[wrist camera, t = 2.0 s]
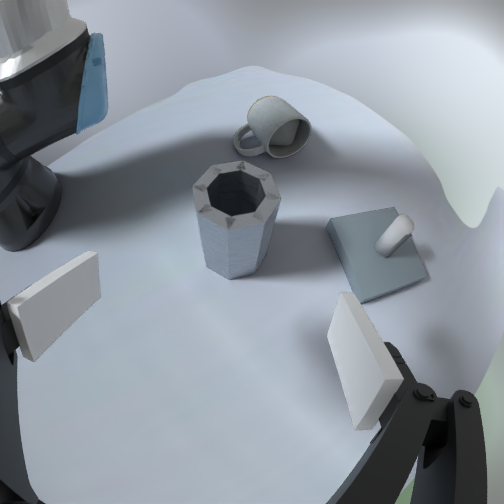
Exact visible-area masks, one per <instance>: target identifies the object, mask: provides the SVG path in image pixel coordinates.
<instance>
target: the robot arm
mask: <svg viewBox="0 0 504 504" xmlns="http://www.w3.org/2000/svg"><path fill="white" fill-rule="evenodd" d="M107 112H108V91H107V77H106V65H105V51H104V42H103V35H102V34H101V33H93V34H91V35H89V34H88V29H87V25H86V23H85V22H84V21H81V20H78V19H75V18H72V17H71V16H70V14H69V10H68V5H67V0H0V246H1V247H3V248H4V249H5V250H8V251H17V250H20V249H23V248H25V247H27V246H28V245H30V244H31V243H32V242H34V241H35V240H36V239H37V238H38V237H39V236H40V235H41V234H42V233H43V232H44V231H45V229H46V228H47V227H48V225H49V224H50V222H51V221H52V219H53V217H54V215H55V213H56V211H57V209H58V206H59V203H60V199H61V185H60V182H59V180H58V179H57V177H56V176H55V174H54V173H53V171H52V170H51V169H49V168H47V167H46V166H43V165H42V164H41V163H40V162H38V161H37V160H36V159H34V158H33V157H32V156H31V155H32V154H34V153H35V152H37V151H39V150H41V149H43V148H45V147H47V146H49V145H51V144H53V143H55V142H57V141H59V140H61V139H64V138H66V137H68V136H70V135H72V134H74V133H76V134H79V133H80V132H81V131H82V130H84V129H86V128H89V127H91V126H93V125H95V124H97V123H99V122H100V121H102V120H103V119H104V118H105V116H106V115H107ZM100 298H101V292H100V280H99V265H98V253H95V252H90V251H86V252H85V253H83V254H81V255H80V256H78V257H76V258H74V259H73V260H71V261H69V262H68V263H66V264H64V265H63V266H61V267H60V268H58V269H56V270H55V271H53V272H51V273H50V274H48V275H47V276H45V277H44V278H42V279H40V280H39V281H37V282H36V283H34V284H33V285H30V286H29V287H27V288H26V289H24V291H21V292H20V293H19V294H17V295H16V296H14V297H13V298H11V299H10V300H8V301H7V302H5V303H4V304H3V305H1V302H0V504H45V503H43V502H42V501H40V500H39V499H38V497H37V495H36V494H35V492H34V491H33V489H32V487H31V485H30V483H29V479H28V475H27V470H26V465H25V460H24V455H23V449H22V442H21V435H20V426H19V415H18V399H17V353H16V349H17V348H18V347H19V346H20V349H21V352H22V354H23V357H25V358H27V359H28V360H30V361H32V362H35V361H36V360H37V359H38V358H39V357H40V356H41V355H42V354H43V353H44V352H45V351H46V350H47V349H48V348H49V347H50V346H51V345H52V344H53V343H54V342H55V341H56V340H57V339H58V338H59V337H60V336H61V335H62V334H63V333H64V332H65V331H66V330H67V329H68V328H69V327H70V326H71V325H72V324H73V323H74V322H75V321H76V320H77V319H78V318H79V317H80V316H81V315H82V314H83V313H85V312H86V311H87V310H88V309H89V308H90V307H91V306H92V305H93V304H94V303H95V302H96V301H97V300H98V299H100ZM327 338H328V341H329V344H330V348H331V351H332V354H333V357H334V360H335V364H336V367H337V370H338V374H339V377H340V380H341V384H342V387H343V391H344V394H345V398H346V401H347V405H348V408H349V412H350V415H351V419H352V423H353V426H354V430H369V429H373V427H374V426H375V424H376V423H377V421H378V420H379V422H380V424H381V429H380V430H379V431H378V433H377V434H376V435H375V437H374V438H373V439H372V441H371V442H370V443H371V444H370V446H369V447H368V449H367V450H366V452H365V453H364V455H363V456H362V458H361V459H360V460H359V462H358V463H357V465H356V466H355V468H354V469H353V470H352V472H351V473H350V474H349V476H348V477H347V478H346V480H345V481H344V482H343V484H342V485H341V486H340V487H339V489H338V490H337V491H336V492H335V494H334V495H333V496H332V497H331V498H330V500H329V501H328V502H327V503H326V504H394V503H395V502H396V500H397V498H398V496H399V494H400V492H401V490H402V488H403V486H404V484H405V482H406V480H407V478H408V476H409V474H410V472H411V470H412V468H413V465H414V463H415V461H416V459H417V456H418V462H417V469H416V475H415V481H414V487H413V492H412V497H411V502H410V504H487V466H486V452H485V442H484V433H483V427H482V420H481V414H480V408H479V403H478V401H477V399H476V397H475V396H474V395H473V394H471V393H470V392H468V391H465V390H458V391H456V392H455V393H454V394H453V396H452V397H451V399H445V398H439V397H437V396H436V393H435V392H434V391H433V389H432V388H430V387H429V386H427V385H425V384H422V383H417V381H416V380H415V378H414V376H413V374H412V373H411V371H410V369H409V368H408V366H407V364H405V363H406V362H405V361H404V359H403V358H402V356H401V354H400V353H399V351H398V349H397V348H396V347H394V346H393V345H392V344H391V343H390V342H383V341H382V339H381V337H380V335H379V334H378V332H377V330H376V329H375V327H374V325H373V324H372V322H371V320H370V319H369V317H368V315H367V314H366V312H365V310H364V309H363V307H362V305H361V304H360V302H359V301H358V299H357V297H356V296H355V294H354V293H348V292H340V295H339V298H338V302H337V305H336V308H335V312H334V315H333V318H332V321H331V324H330V328H329V331H328V334H327Z"/></svg>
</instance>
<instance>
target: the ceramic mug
mask: <svg viewBox="0 0 504 504" xmlns="http://www.w3.org/2000/svg"><path fill="white" fill-rule="evenodd" d="M247 120H248V124H246V125H244V126H243V127H241V128H240V129H239V130H238V131H237V132H236V133H235V135H234V138H233V143H234V146H235V148H236V149H237V151H238V152H239V153H240V154H241V155H243V156H248V157H250V156H256V155H259V154H262V153H264V152H267V153H268V154H269V155H270V156H272V157H275V158H285V157H289V156H291V155H293V154H295V153H297V152H298V151H299V150H301V149H302V148H303V147H304V146H305V144H306V143H307V141H308V140H309V137H310V135H311V125H310V122H309V121H308V119H306V118H305V117H304V116H303V115H302V114H300V113H299V112H298V111H297V110H296V109H294V108H293V107H292V106H291V105H290V104H288V103H287V102H286V101H285V100H283V99H281V98H279V97H276V96H266V97H263V98H261V99H259V100H257V101H256V102H255V103H254V104H253V105H252V106H251V108H250V110H249V112H248V115H247ZM250 130H252V132H253V133H254V134H255V135H256V137H257V138H258V140H259V141H260V143H261V144H262V145H261V146H258V147H255V148H252V149H242V148H241V146H240V141H239V140H240V139H241V137H242V136H243V135H244V134H246V133H247V132H249V131H250Z"/></svg>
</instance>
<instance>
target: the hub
mask: <svg viewBox="0 0 504 504" xmlns="http://www.w3.org/2000/svg"><path fill="white" fill-rule="evenodd" d="M192 189H193V196H194V202H195V208H196V214H197V220H198V226H199V231H200V237H201V243H202V247H203V252H204V257H205V261H206V266H207V267H208V268H209V269H211V270H213V271H215V272H216V273H218V274H220V275H221V276H223V277H225V278H227V279H228V280H229V279H234V278H238V277H243V276H247V275H252V274H254V273H255V271H256V270H257V268H258V267H259V265H260V263H261V262H262V260H263V258H264V257H265V255H266V253H267V249H268V246H269V242H270V238H271V235H272V231H273V227H274V223H275V220H276V216H277V212H278V208H279V205H280V201H281V197H280V194H279V192H278V190H277V187H276V185H275V182H274V180H273V177H272V175H271V173H269V172H267V171H265V170H263V169H261V168H259V167H256V166H254V165H252V164H250V163H247V162H245V161H243V160H242V161H235V162H229V163H223V164H217V165H211V166H210V167H209V169H208V170H207V171H206V172H205V173H204V174H203V175H202V176H201V177H200V178H199V179H198V180H197V182H196V183H195V184H194V185H193V186H192Z"/></svg>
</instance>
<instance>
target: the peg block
mask: <svg viewBox="0 0 504 504" xmlns="http://www.w3.org/2000/svg"><path fill="white" fill-rule="evenodd" d="M326 228H327V230H328V232H329V235H330V237H331V239H332V242H333V244H334V246H335V249H336V251H337V253H338V256H339V258H340V261H341V263H342V266H343V268H344V271H345V273H346V276H347V278H348V281H349V283H350V286H351V288H352V291H353V293H354V294H355V296H356V297H357V299H358V301H359V302H360V304H361V303H364V302H366V301H369V300H372V299H375V298H377V297H380V296H383V295H386V294H388V293H391V292H394V291H396V290H399V289H401V288H404V287H406V286H409V285H411V284H414V283H416V282H419V281H421V280H422V279H424V278H425V277H427V276H428V275H427V273H426V270H425V268H424V266H423V263H422V261H421V259H420V257H419V255H418V252H417V250H416V248H415V246H414V244H413V242H412V240H411V238H410V237H411V236H412V235H411V233H412V232H413V230H414V224H413V221H412V220H411V219H410V218H409V217H408V216H406V215H404V214H401V215H398V213H397V211H396V209H395V207H391V208H386V209H380V210H374V211H369V212H363V213H358V214H352V215H347V216H341V217H336V218H331V219H330V221H329V222H328V224H327V226H326Z"/></svg>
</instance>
